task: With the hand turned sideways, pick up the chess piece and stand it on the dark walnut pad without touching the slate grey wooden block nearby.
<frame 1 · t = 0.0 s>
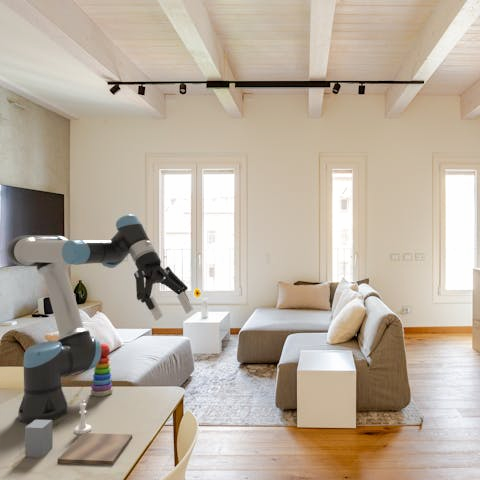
hand: (175, 314, 128), 36 cm above the table, tool tilted 35°, fingers open, 13 cm apart
slate block: (39, 452, 117), on the table
chess piece: (82, 430, 130), on the table
stacking toy: (101, 393, 162), on the table
walnut pad: (97, 449, 118), on the table
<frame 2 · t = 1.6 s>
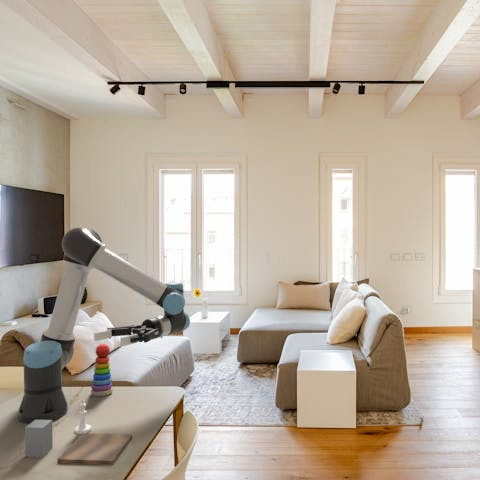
hand: (107, 339, 138), 26 cm above the table, tool horizontal, fingers open, 13 cm apart
nothing on the table moved.
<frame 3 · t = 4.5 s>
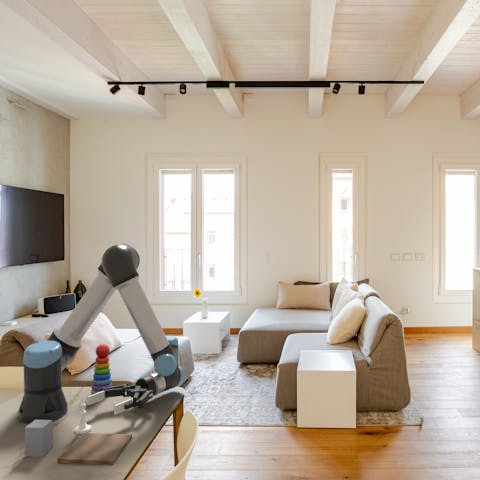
hand: (100, 405, 135), 6 cm above the table, tool horizontal, fingers open, 13 cm apart
nothing on the table moved.
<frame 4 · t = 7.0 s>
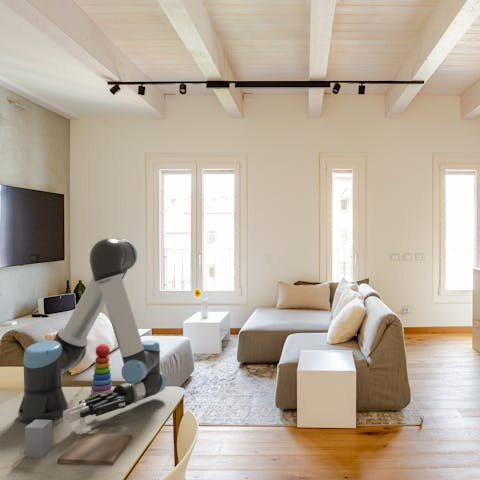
hand: (66, 416, 126), 6 cm above the table, tool horizontal, fingers closed on chess piece, 2 cm apart
chess piece: (82, 430, 130), on the table, touching gripper
everything else where it was.
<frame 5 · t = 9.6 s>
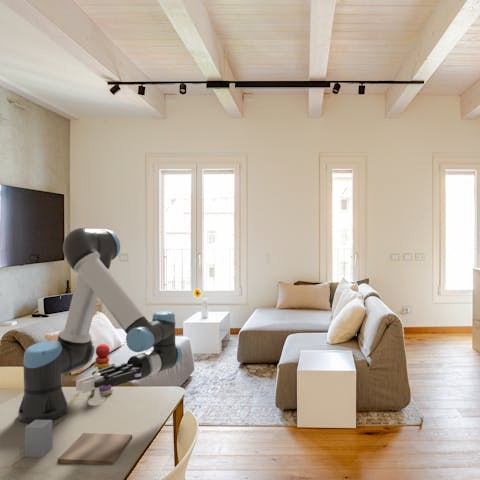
hand: (80, 386, 116), 18 cm above the table, tool horizontal, fingers closed on chess piece, 2 cm apart
chess piece: (97, 402, 121), point 12 cm above the table, touching gripper
everything else where it was.
when the fingers open (8 cm above the table, at t = 12.2 s): chess piece drops 1 cm, resting on walnut pad.
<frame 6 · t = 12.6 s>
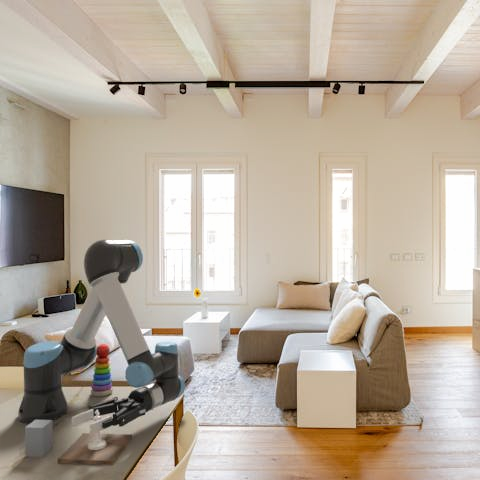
hand: (81, 425, 114), 8 cm above the table, tool horizontal, fingers open, 7 cm apart
chess piece: (97, 446, 118), point 1 cm above the table, touching walnut pad
everything else where it was.
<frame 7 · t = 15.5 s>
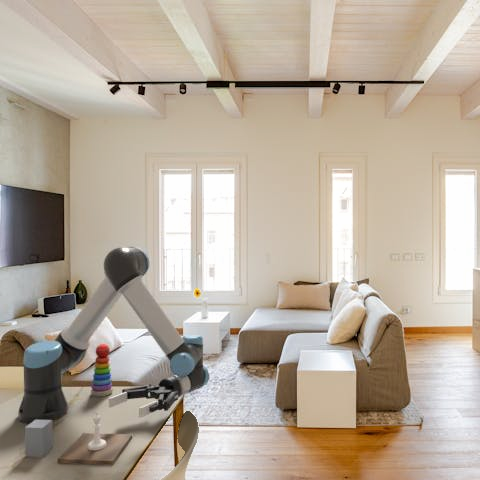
hand: (124, 407, 126), 9 cm above the table, tool horizontal, fingers open, 13 cm apart
nothing on the table moved.
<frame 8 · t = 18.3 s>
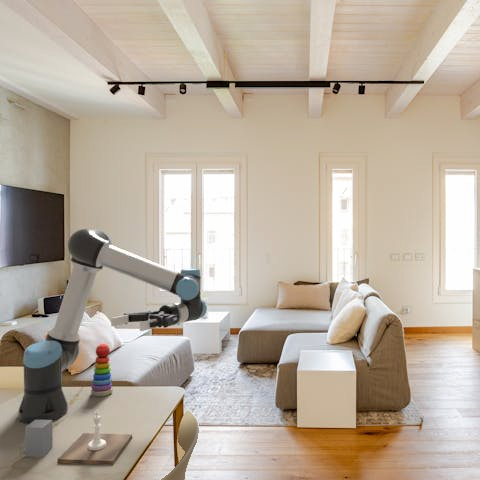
hand: (125, 324, 133), 32 cm above the table, tool horizontal, fingers open, 13 cm apart
nothing on the table moved.
at the end: chess piece inside the target area on the walnut pad (0.1 cm from its centre), point 0.8 cm above the walnut pad's base; chess piece tilted 0°; slate block moved 0.1 cm from its start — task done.
